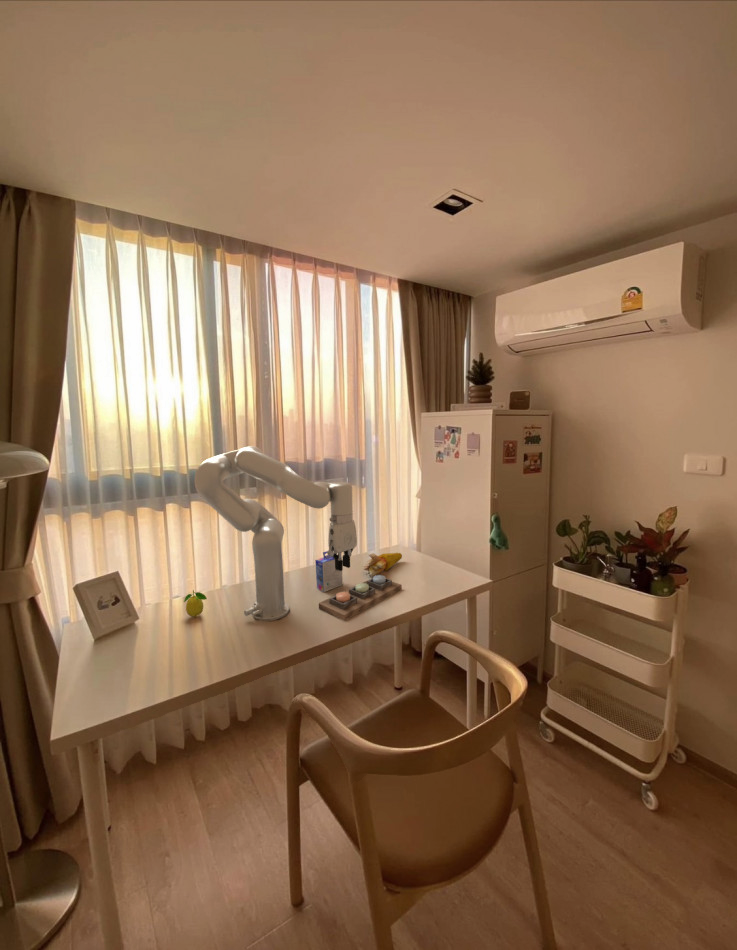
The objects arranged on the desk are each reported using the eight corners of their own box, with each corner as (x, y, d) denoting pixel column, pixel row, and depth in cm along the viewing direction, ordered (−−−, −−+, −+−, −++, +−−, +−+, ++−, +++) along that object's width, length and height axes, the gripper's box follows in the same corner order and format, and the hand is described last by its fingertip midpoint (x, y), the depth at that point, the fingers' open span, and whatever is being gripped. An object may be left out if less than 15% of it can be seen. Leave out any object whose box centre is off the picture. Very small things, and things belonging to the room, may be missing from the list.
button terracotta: (343, 604, 142) (343, 599, 142) (333, 600, 146) (333, 595, 145) (353, 599, 146) (353, 594, 146) (343, 595, 149) (343, 590, 149)
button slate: (380, 586, 157) (380, 581, 157) (370, 582, 160) (370, 578, 160) (388, 582, 161) (388, 577, 160) (378, 578, 164) (378, 574, 164)
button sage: (362, 595, 150) (362, 590, 149) (352, 591, 153) (352, 586, 153) (371, 590, 153) (371, 585, 153) (361, 586, 157) (361, 582, 156)
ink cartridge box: (335, 581, 169) (334, 547, 167) (343, 585, 165) (342, 551, 163) (315, 588, 163) (314, 553, 160) (323, 592, 159) (322, 557, 156)
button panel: (344, 620, 137) (344, 610, 137) (318, 608, 146) (318, 598, 145) (401, 589, 161) (401, 580, 160) (376, 580, 170) (376, 571, 169)
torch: (401, 570, 190) (368, 581, 170) (389, 559, 194) (356, 568, 174) (409, 556, 187) (377, 566, 167) (397, 545, 191) (364, 553, 172)
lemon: (208, 617, 140) (206, 590, 139) (190, 623, 136) (188, 595, 135) (200, 610, 145) (198, 584, 143) (183, 616, 141) (181, 589, 140)
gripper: (331, 524, 132) (333, 578, 135) (365, 515, 144) (366, 564, 147) (316, 520, 137) (318, 572, 140) (350, 511, 149) (351, 559, 152)
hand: (342, 567), depth 144 cm, fingers open, 3 cm apart
